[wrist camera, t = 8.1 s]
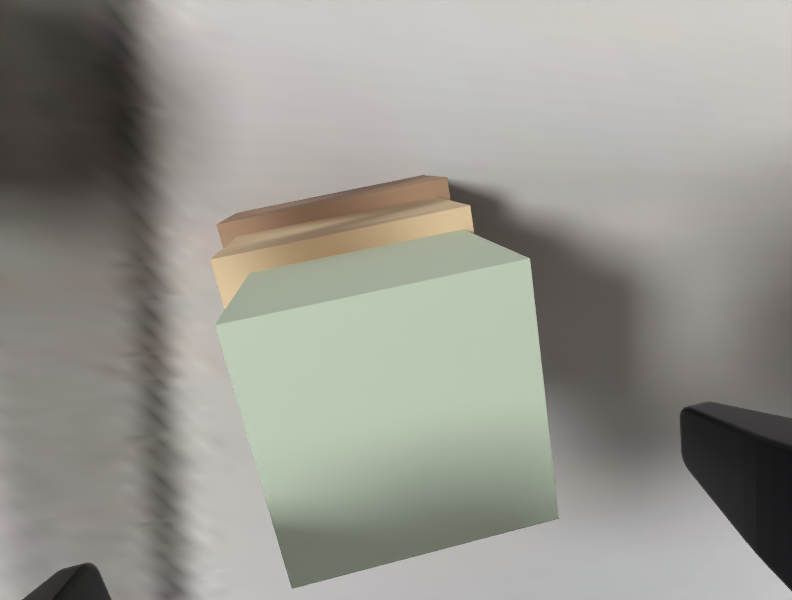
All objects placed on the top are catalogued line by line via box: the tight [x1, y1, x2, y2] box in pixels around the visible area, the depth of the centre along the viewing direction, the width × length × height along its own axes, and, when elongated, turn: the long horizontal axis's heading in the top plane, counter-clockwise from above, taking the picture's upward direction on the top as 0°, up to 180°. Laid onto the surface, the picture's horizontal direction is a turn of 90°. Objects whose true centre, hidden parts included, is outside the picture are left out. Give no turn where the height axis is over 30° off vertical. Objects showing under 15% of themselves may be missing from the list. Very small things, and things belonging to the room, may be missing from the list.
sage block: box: [215, 229, 559, 589], centre depth 11 cm, size 5×5×4 cm
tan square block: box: [217, 175, 451, 248], centre depth 18 cm, size 7×7×4 cm
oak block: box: [210, 196, 474, 309], centre depth 14 cm, size 6×6×4 cm
